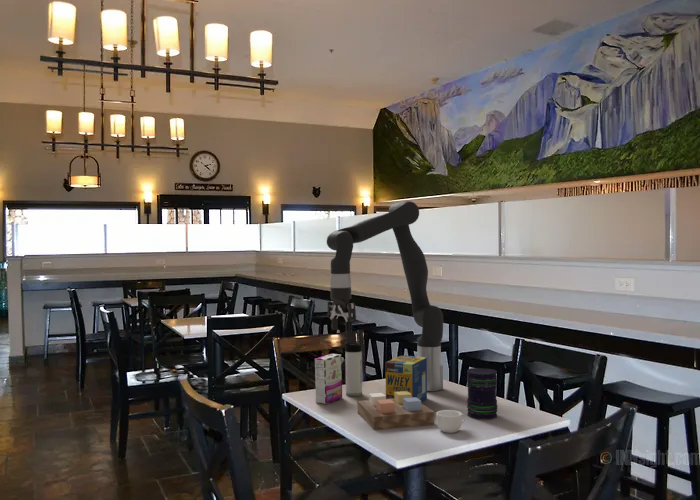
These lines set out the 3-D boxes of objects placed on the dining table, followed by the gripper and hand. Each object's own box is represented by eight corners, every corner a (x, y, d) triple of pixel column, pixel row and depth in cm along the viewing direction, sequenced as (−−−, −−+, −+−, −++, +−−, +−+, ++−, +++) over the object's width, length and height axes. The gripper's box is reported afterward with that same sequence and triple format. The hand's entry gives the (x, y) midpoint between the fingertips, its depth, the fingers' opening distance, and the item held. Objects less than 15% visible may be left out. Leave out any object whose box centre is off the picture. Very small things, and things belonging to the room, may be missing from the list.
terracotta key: (390, 411, 196) (390, 399, 196) (394, 415, 191) (394, 402, 191) (376, 412, 195) (376, 400, 195) (380, 416, 190) (380, 403, 190)
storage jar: (491, 421, 194) (490, 375, 194) (462, 417, 199) (462, 372, 199) (501, 414, 202) (501, 369, 202) (473, 410, 208) (473, 366, 208)
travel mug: (342, 393, 233) (341, 342, 233) (357, 391, 236) (357, 340, 236) (349, 397, 227) (348, 344, 227) (365, 395, 230) (364, 342, 230)
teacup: (446, 436, 180) (446, 418, 180) (431, 429, 186) (431, 412, 186) (473, 431, 184) (472, 413, 184) (457, 424, 191) (457, 407, 191)
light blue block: (416, 409, 198) (416, 397, 198) (421, 413, 194) (421, 400, 194) (403, 410, 197) (402, 398, 197) (407, 414, 193) (407, 401, 193)
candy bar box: (331, 396, 229) (331, 353, 229) (342, 398, 226) (342, 354, 226) (314, 403, 220) (314, 358, 219) (325, 404, 217) (325, 359, 217)
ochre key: (407, 402, 207) (407, 391, 207) (411, 406, 202) (411, 394, 202) (394, 403, 206) (394, 391, 206) (398, 407, 201) (398, 395, 201)
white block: (382, 404, 205) (381, 392, 205) (386, 408, 200) (385, 396, 200) (369, 405, 204) (368, 393, 204) (372, 409, 199) (372, 397, 199)
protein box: (385, 405, 215) (384, 362, 215) (401, 395, 229) (401, 354, 229) (412, 408, 210) (412, 364, 210) (427, 398, 224) (427, 356, 224)
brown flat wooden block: (412, 408, 211) (412, 396, 211) (434, 424, 191) (434, 411, 191) (357, 412, 206) (357, 401, 206) (373, 429, 187) (373, 416, 186)
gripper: (361, 286, 215) (361, 331, 215) (337, 284, 226) (338, 327, 227) (344, 287, 210) (344, 334, 211) (321, 285, 222) (322, 330, 222)
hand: (341, 330), depth 219 cm, fingers open, 8 cm apart
